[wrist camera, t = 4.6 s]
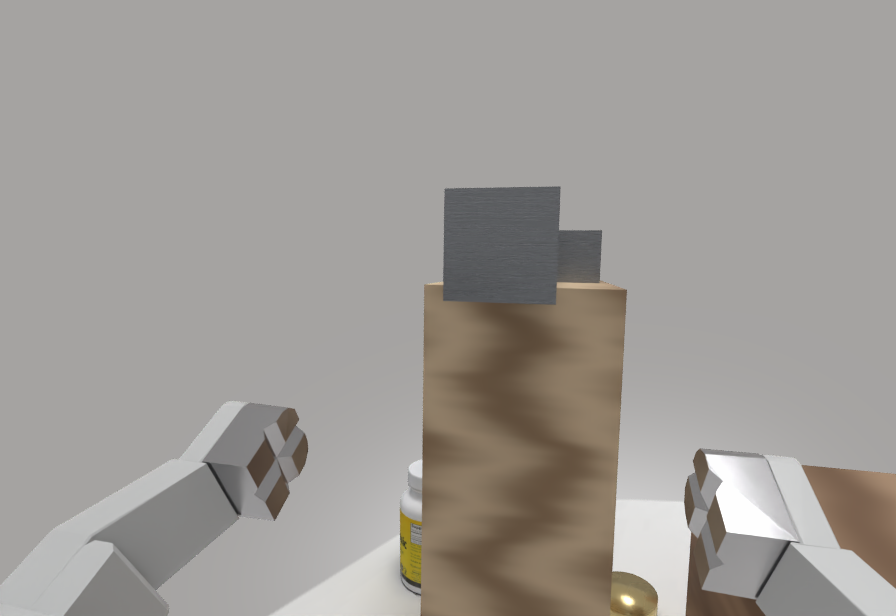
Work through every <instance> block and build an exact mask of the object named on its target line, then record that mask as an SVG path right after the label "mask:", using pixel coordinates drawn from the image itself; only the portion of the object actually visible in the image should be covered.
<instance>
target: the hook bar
mask: <svg viewBox="0 0 896 616" xmlns="http://www.w3.org/2000/svg"><path fill="white" fill-rule="evenodd" d="M444 205H445V207H444V270H443V273H444V275H443V301H458V302H488V303H517V304H547V305H556V290H557V282H567V283H600V261H601V239H602V231H564V230H560V231H559V211H560V187H513V188H512V187H511V188H456V189H445V204H444Z"/></svg>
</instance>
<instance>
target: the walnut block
mask: <svg viewBox="0 0 896 616" xmlns="http://www.w3.org/2000/svg"><path fill="white" fill-rule="evenodd" d="M801 466H802V468H803V470H804V472H805V474H806V476H807V478H808V481H809V483H810V485H811V487H812V489H813V491H814V493H815V495H816V497H817V500H818V502H819V504H820V506H821V508H822V510H823V512H824V514H825V516H826V518H827V521H828V523H829V525H830V527H831V529H832V531H833V533H834V535H835V537H836V540H837V542H838V544H839V546H840V548H841V549H845V550H851V551H853V552H854V553H855V554H856V555H857V556H859V557H860V558H861V559H862V560H863V561H864V562H865V563H867V564H868V565H869V566H870V567H871V568H872V569H874V570H875V571H876V572H877V573H878V574H879V575H880V576H882V577H883V578H884V579H885V580H886V581H887V582H888V583H890V584H891V585H892V586H893V587H894V588H895V589H896V474H890V473H880V472H868V471H858V470H848V469H836V468H826V467H816V466H806V465H801ZM697 540H698V538H697V537H696V536H695V535H694V534H693V533H692V531H691V544H690V559H689V573H688V588H687V603H686V616H766V615H765V614H764V613H763V611H762V610H761V609H760V607H759V606H758V605H757V604H756V599H750V598H745V597H740V596H734V595H729V594H723V593H718V592H713V591H707V590H702V589H701V585H700V580H699V576H698V571H697V567H696V562H695V558H694V553H693V551H694V548H695V545H696V543H697Z"/></svg>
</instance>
